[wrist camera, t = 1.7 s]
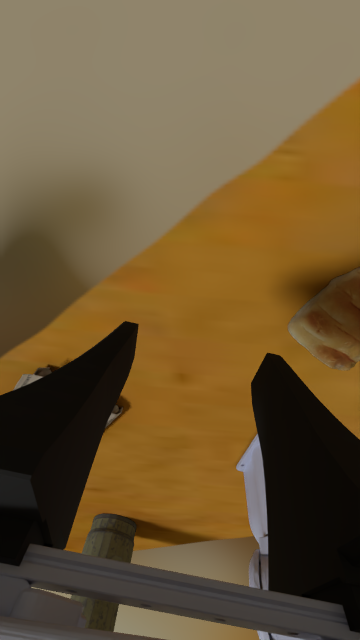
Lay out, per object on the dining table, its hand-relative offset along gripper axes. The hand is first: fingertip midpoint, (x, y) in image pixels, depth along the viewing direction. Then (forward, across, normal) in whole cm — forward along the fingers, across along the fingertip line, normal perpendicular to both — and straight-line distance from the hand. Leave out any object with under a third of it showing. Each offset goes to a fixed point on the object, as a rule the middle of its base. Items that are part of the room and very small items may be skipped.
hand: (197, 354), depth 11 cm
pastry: (+10, -12, 0) cm, 15 cm away
